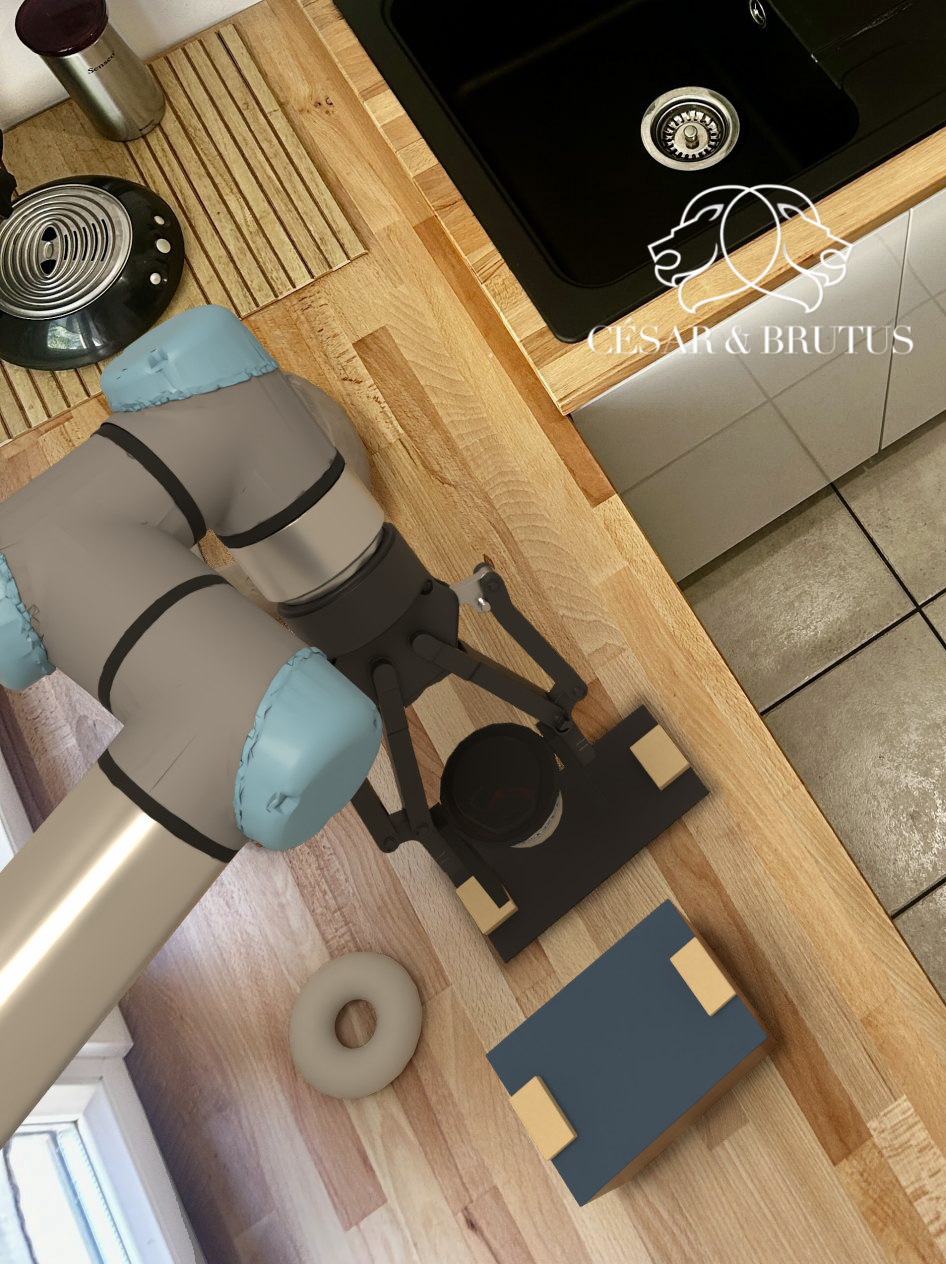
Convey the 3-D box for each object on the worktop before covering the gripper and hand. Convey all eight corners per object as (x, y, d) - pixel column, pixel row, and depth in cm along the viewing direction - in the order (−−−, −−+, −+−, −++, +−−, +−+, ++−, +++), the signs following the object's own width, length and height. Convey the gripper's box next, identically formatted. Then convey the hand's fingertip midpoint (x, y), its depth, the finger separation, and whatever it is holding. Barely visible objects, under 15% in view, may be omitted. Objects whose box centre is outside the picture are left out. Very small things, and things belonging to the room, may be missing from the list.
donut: (434, 1081, 111) (419, 938, 116) (423, 1082, 108) (408, 935, 113) (301, 1113, 111) (292, 968, 115) (286, 1115, 107) (277, 966, 112)
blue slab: (581, 1207, 86) (576, 1209, 85) (486, 1055, 90) (479, 1054, 89) (768, 1037, 90) (766, 1036, 88) (668, 898, 94) (665, 895, 92)
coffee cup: (452, 787, 93) (413, 756, 84) (551, 729, 94) (524, 693, 86) (498, 891, 90) (463, 870, 81) (600, 830, 91) (577, 803, 83)
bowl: (87, 516, 134) (6, 456, 121) (296, 358, 141) (241, 285, 127) (223, 708, 125) (152, 665, 112) (440, 530, 132) (397, 469, 119)
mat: (506, 963, 115) (501, 962, 113) (443, 866, 118) (437, 863, 116) (709, 792, 120) (707, 788, 118) (643, 704, 124) (640, 699, 122)
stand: (630, 1181, 107) (581, 1207, 86) (551, 1058, 111) (486, 1055, 90) (779, 1044, 111) (768, 1037, 90) (698, 930, 115) (668, 898, 94)
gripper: (465, 435, 87) (660, 715, 94) (165, 652, 81) (398, 930, 89) (499, 467, 80) (706, 766, 87) (174, 707, 74) (425, 1003, 82)
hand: (551, 848), depth 88 cm, fingers closed on coffee cup, 7 cm apart
